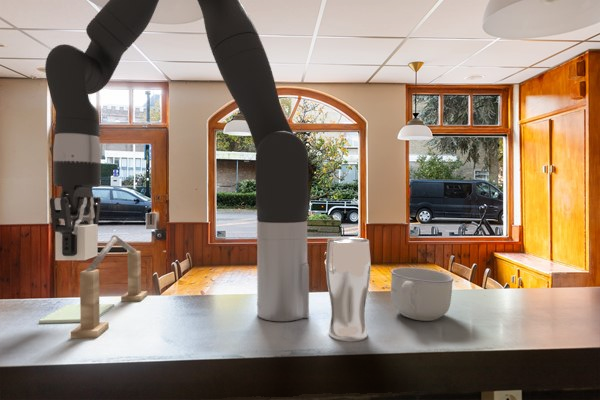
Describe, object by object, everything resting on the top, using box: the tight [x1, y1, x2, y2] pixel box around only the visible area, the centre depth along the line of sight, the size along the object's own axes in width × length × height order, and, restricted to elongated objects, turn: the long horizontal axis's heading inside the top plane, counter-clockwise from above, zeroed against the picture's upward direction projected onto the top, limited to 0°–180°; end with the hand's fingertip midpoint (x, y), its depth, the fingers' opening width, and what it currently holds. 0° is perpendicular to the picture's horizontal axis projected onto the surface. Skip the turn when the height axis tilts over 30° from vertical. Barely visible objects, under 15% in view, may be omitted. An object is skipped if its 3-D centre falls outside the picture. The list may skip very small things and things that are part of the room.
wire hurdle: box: [70, 234, 148, 339], centre depth 71 cm, size 4×24×15 cm, turn 5°
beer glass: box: [325, 237, 372, 343], centre depth 60 cm, size 7×7×15 cm
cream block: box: [54, 223, 99, 261], centre depth 70 cm, size 5×5×6 cm
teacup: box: [390, 267, 454, 322], centre depth 68 cm, size 14×11×8 cm
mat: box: [38, 303, 115, 324], centre depth 70 cm, size 9×9×1 cm
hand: (77, 252), depth 70 cm, fingers closed on cream block, 5 cm apart
